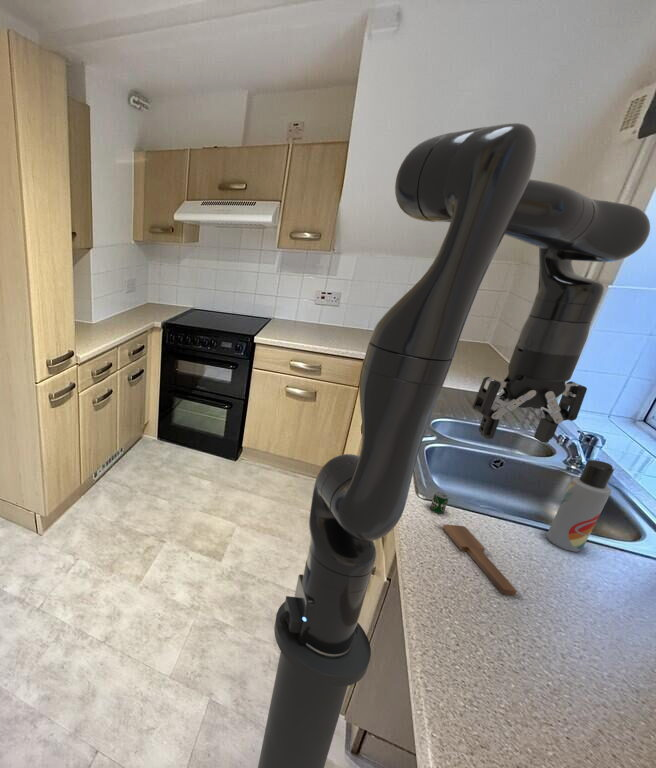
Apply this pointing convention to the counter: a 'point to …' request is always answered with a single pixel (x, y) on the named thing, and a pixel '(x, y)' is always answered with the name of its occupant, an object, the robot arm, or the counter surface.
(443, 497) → the beer can
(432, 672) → the counter surface
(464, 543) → the spatula
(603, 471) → the lotion bottle
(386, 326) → the robot arm
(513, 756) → the counter surface
